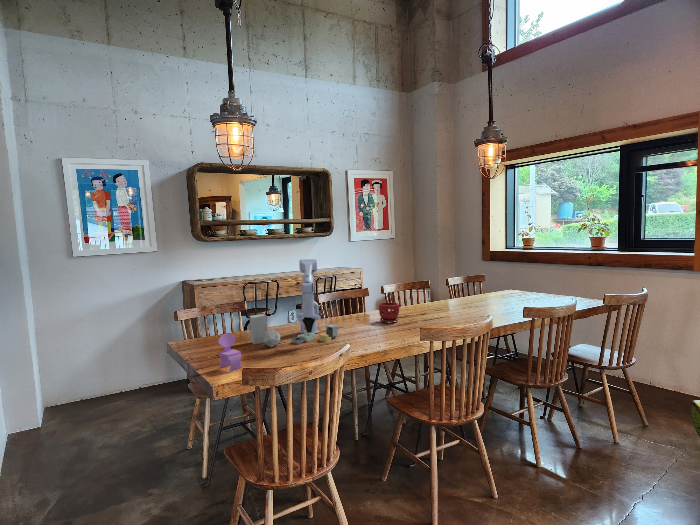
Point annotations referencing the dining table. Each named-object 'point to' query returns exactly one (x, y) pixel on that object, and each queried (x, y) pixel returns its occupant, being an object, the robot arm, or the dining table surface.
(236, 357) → the toy chair
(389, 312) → the plant pot
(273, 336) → the die
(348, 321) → the dining table surface
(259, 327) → the skincare box
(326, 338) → the block
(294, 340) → the pin socket
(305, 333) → the pin
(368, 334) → the dining table surface
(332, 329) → the castor
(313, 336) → the tray
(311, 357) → the dining table surface
